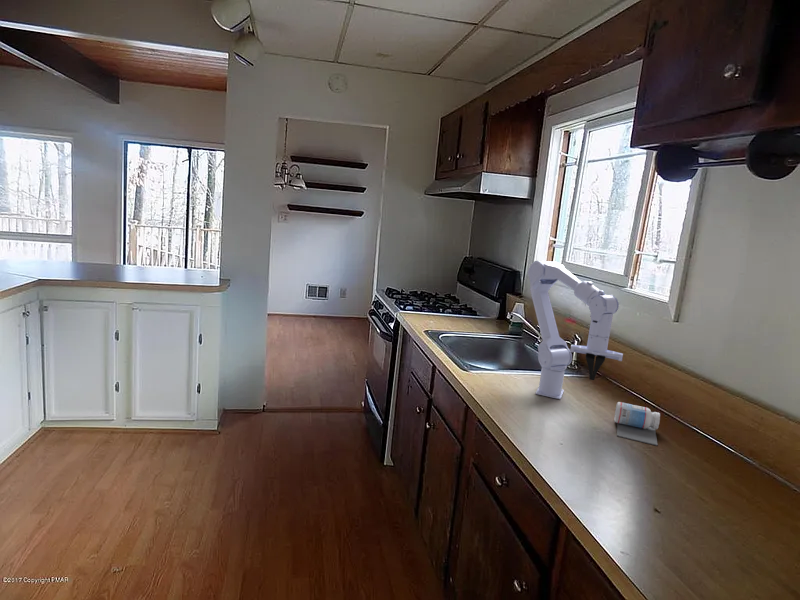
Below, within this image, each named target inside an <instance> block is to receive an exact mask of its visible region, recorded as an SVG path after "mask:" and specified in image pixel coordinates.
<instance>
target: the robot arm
mask: <svg viewBox="0 0 800 600" xmlns="http://www.w3.org/2000/svg"><path fill="white" fill-rule="evenodd" d="M527 275H528V279H529V283H530V284H529V285H530V286H529V289H530V295H531V299H532V303H533V307H534V311H535V315H536V320H537V322H538V323H537V324H538V327H539V332H540V336H541V341H540V343H539V344H538V346H537V350H538V354H537V358H538V363H539V364H540V367H541V371H540V377H539V383H538V385H539V386H538V387H537V389H536V391H535V394H536V395H539V396H543V397H548V398H551V399H552V398H553V399H557V400H561V399H562V397H563V393H564V391H565V389H563V385H564V377H565V371H566V369H568V368H567V366H569V365H570V364H571V363H572V361H573V354H572V353H579V354H584V355H585V361H586V364H587V368H588V374H589V375H588V376H589V377H588V378H589V380H590V381H595V379H596V376H597V373H598V372H599V370H600V368H601V367H602V366H603V364H604V362H605V360H606V359H612V360H616V361H618V362H622V361H623V356H624V352H623V353H622V352H618V351H614V350H609V349H608V345H609V342H610V341H609V340H610V335H611V329H612V323H613V317H614V314H616V313H617V312H618V311H619V307H620V303H619V300H618V298H617V297H616V296H615V295H614V294H606V293H605V291H604V290H603V289H600V288H598V287H597V286H595V285H594V282H593V281H589V280H584V281H583V280H582V281H581V280H580V279H579V278H578V277H577V276H575V275H574V274H573V273H572V272H570V271H569V270H568V269H567V268H565V265H564V264H561V263H560V262H559V261H542V260H541V261H540V260H534V261H533V262H531V264H530V265H529V268H528V270H527ZM558 281H559V282H560V283H562V284H564V285H565V286H567V287H569V288H570V289H571V290H573V291H574V292H573V293H574V296H575V297H576V298H577V299H579V300H580V301H581V302H583V303H584V304H585V305H587V306H588V309H589V312H590V314H589V315H590V324H589V331H588V336H587V337H588V338H587V342H586V345H579V344H578V345H577V344H571V345H570V348H569V346H568V344H567V342H566V341H565V340H564V339H563V338H562V337H560V333H559V329H558V326H557V322H556V318H555V314H554V310H553V307H552V302H551V299H550V295H549V290H550V289H551V288H553V286H555V284H556V283H557V282H558Z"/></svg>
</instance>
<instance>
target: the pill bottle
mask: <svg viewBox="0 0 800 600" xmlns="http://www.w3.org/2000/svg"><path fill="white" fill-rule="evenodd" d="M613 421H614V423H616V424H617V423H620V424H624V425H629V426H633V427H638V428H642V429H647V428H648V427H651V428H653V429H655V430H658V429H659V425H660V421H661V413H660V412H657V411H651V409H650V408H649V407H647V406H646V407H645V406H640V405H637V404H631V403H626V402H622V401H618V402H616V406H615V412H614V420H613Z"/></svg>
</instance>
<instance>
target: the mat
mask: <svg viewBox="0 0 800 600" xmlns="http://www.w3.org/2000/svg"><path fill="white" fill-rule="evenodd" d="M616 427H617V428H616V437H618V438H619V437H620V438H624V439H628V440H631V441H635V442H639V443H640V442H641V443H644V444H648V445H653V446H657V447H658V445H659V444H658V439H657V434H656V433H657V432H656V429H653V428H651V427H648V428H647V429H642V428H638V427H633V426H629V425H624V424H620V423H616Z"/></svg>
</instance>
